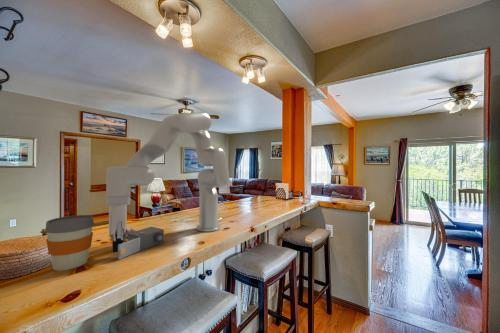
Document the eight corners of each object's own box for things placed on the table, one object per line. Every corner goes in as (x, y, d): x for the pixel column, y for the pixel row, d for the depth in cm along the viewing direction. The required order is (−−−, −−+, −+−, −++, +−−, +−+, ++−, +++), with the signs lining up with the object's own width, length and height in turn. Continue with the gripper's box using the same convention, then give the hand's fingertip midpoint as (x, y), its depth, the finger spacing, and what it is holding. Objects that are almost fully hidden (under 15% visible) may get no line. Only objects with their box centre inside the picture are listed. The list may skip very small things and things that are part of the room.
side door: (117, 259, 77) (117, 244, 77) (138, 250, 85) (139, 237, 85) (120, 259, 76) (120, 245, 76) (141, 250, 84) (141, 237, 84)
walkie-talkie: (107, 235, 103) (123, 246, 90) (107, 226, 103) (123, 235, 90) (128, 231, 109) (145, 241, 96) (128, 222, 109) (145, 231, 96)
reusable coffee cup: (84, 270, 69) (84, 222, 69) (35, 275, 65) (35, 225, 65) (99, 254, 81) (99, 214, 81) (58, 258, 77) (58, 216, 77)
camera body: (151, 238, 98) (151, 225, 98) (166, 242, 94) (166, 228, 93) (127, 247, 88) (127, 232, 88) (142, 251, 84) (142, 235, 84)
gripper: (105, 198, 83) (104, 246, 83) (107, 204, 71) (106, 261, 71) (127, 197, 87) (127, 243, 87) (133, 202, 75) (132, 255, 75)
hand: (117, 251), depth 79 cm, fingers closed
